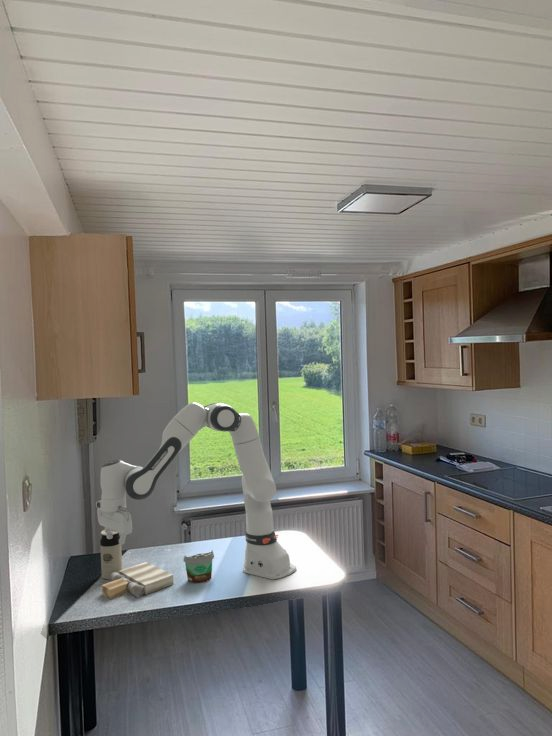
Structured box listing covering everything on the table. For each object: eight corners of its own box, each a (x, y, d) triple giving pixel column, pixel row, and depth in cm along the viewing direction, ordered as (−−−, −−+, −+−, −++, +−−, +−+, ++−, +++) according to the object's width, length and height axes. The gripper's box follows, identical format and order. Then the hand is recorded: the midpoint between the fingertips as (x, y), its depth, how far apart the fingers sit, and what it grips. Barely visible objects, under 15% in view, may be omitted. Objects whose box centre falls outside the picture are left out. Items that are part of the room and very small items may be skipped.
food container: (188, 587, 192) (188, 560, 192) (184, 581, 198) (183, 555, 198) (219, 579, 198) (218, 554, 198) (214, 574, 203) (213, 549, 203)
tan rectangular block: (134, 589, 192) (134, 580, 192) (110, 599, 185) (109, 589, 185) (126, 585, 196) (126, 576, 196) (102, 594, 189) (101, 584, 189)
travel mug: (110, 570, 211) (108, 527, 211) (126, 572, 208) (124, 528, 208) (97, 578, 203) (95, 533, 203) (114, 580, 201) (112, 535, 200)
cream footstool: (173, 583, 196) (173, 574, 196) (135, 598, 184) (135, 588, 184) (146, 570, 210) (145, 561, 210) (109, 583, 199) (109, 573, 198)
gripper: (135, 507, 185) (137, 545, 185) (109, 498, 199) (110, 533, 199) (119, 511, 180) (121, 550, 180) (93, 501, 195) (95, 537, 195)
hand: (115, 541), depth 190 cm, fingers open, 8 cm apart
